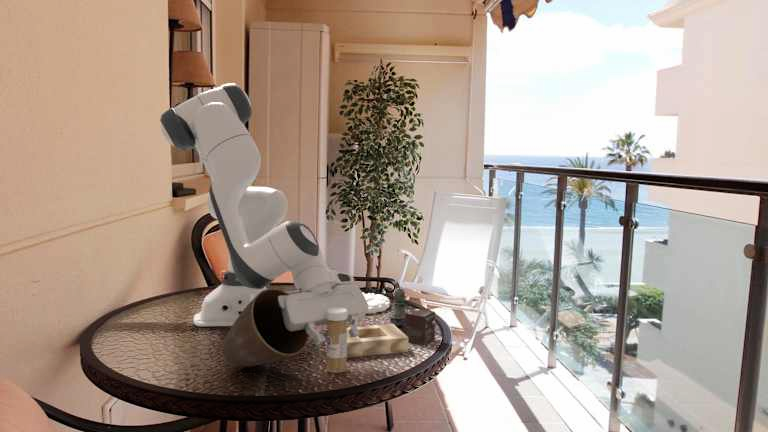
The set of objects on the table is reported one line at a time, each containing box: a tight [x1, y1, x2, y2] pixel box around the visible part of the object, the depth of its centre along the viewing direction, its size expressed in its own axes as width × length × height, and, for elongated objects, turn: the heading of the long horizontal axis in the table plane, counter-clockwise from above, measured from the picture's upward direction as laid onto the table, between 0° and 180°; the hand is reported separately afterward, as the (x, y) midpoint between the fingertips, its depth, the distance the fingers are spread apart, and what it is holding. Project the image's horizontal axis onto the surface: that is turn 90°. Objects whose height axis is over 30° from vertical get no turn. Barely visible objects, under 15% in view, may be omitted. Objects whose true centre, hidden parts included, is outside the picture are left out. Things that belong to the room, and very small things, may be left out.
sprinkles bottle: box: [325, 308, 348, 374], centre depth 112 cm, size 5×5×13 cm
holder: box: [346, 323, 409, 359], centre depth 128 cm, size 16×12×4 cm
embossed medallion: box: [361, 291, 390, 315], centre depth 167 cm, size 20×20×3 cm
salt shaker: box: [388, 285, 406, 332], centre depth 143 cm, size 6×6×12 cm
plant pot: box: [222, 288, 310, 367], centre depth 111 cm, size 15×15×16 cm
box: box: [404, 308, 436, 345], centre depth 134 cm, size 6×6×7 cm
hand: (338, 339), depth 111 cm, fingers open, 7 cm apart
